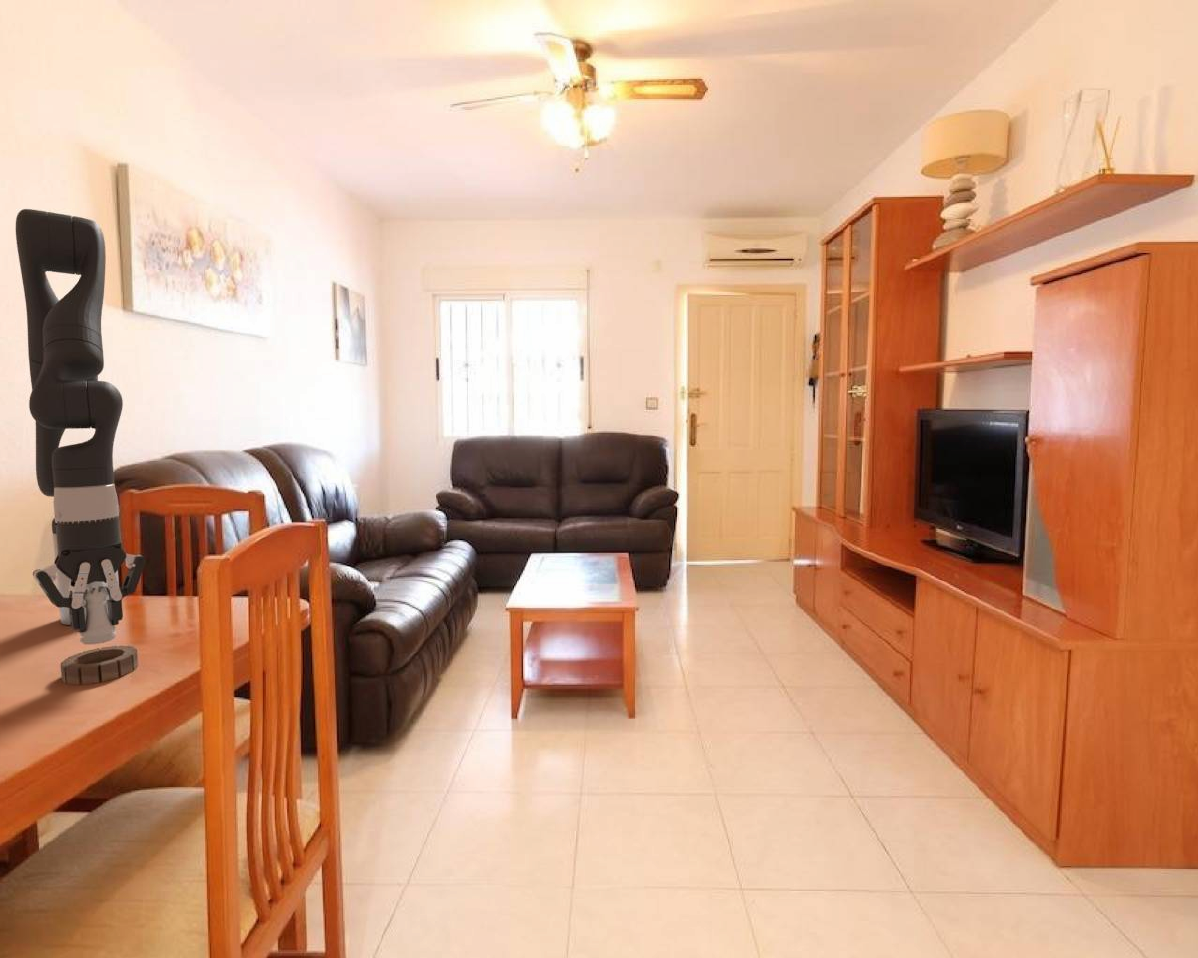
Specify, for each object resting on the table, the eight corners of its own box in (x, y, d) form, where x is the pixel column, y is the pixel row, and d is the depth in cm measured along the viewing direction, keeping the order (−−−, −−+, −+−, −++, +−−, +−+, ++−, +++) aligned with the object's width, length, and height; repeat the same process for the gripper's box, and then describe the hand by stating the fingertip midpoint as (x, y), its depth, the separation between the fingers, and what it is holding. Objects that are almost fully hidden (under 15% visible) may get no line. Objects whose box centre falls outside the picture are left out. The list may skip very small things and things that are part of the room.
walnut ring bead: (55, 674, 97) (54, 658, 97) (126, 656, 104) (125, 641, 104) (72, 689, 92) (70, 673, 91) (146, 669, 99) (144, 654, 98)
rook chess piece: (97, 646, 95) (92, 593, 94) (72, 644, 96) (67, 591, 95) (124, 635, 99) (120, 585, 98) (100, 634, 100) (96, 584, 99)
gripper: (135, 507, 103) (143, 611, 105) (19, 519, 92) (30, 635, 94) (151, 511, 99) (160, 620, 100) (31, 524, 88) (43, 646, 89)
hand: (97, 627), depth 97 cm, fingers closed on rook chess piece, 3 cm apart
